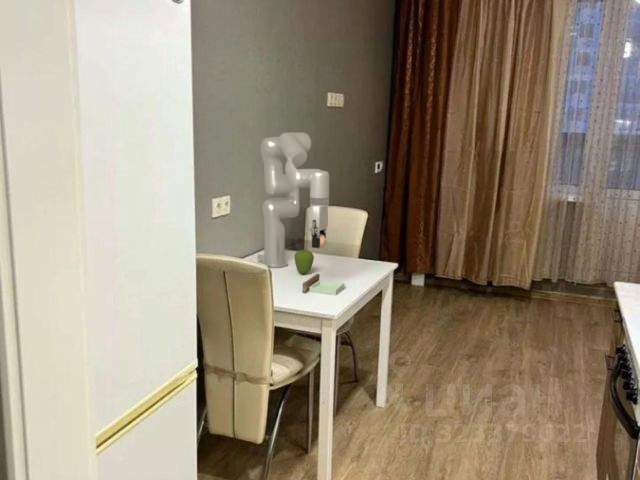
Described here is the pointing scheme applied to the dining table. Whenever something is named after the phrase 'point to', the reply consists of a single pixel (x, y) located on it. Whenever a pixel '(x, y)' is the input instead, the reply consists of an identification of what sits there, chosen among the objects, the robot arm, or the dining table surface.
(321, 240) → the ball
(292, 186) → the robot arm
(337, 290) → the tray
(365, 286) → the dining table surface
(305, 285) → the board
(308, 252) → the apple
